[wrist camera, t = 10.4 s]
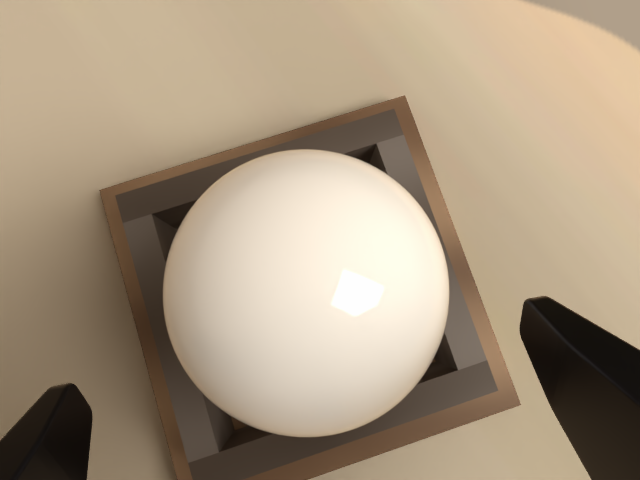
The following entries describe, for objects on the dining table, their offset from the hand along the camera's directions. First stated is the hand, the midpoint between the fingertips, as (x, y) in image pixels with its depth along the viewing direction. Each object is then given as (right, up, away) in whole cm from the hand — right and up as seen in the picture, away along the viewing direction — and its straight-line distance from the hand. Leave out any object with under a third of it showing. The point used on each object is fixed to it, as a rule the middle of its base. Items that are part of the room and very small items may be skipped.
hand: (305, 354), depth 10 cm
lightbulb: (0, 0, +9) cm, 10 cm away
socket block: (0, 0, +10) cm, 10 cm away
